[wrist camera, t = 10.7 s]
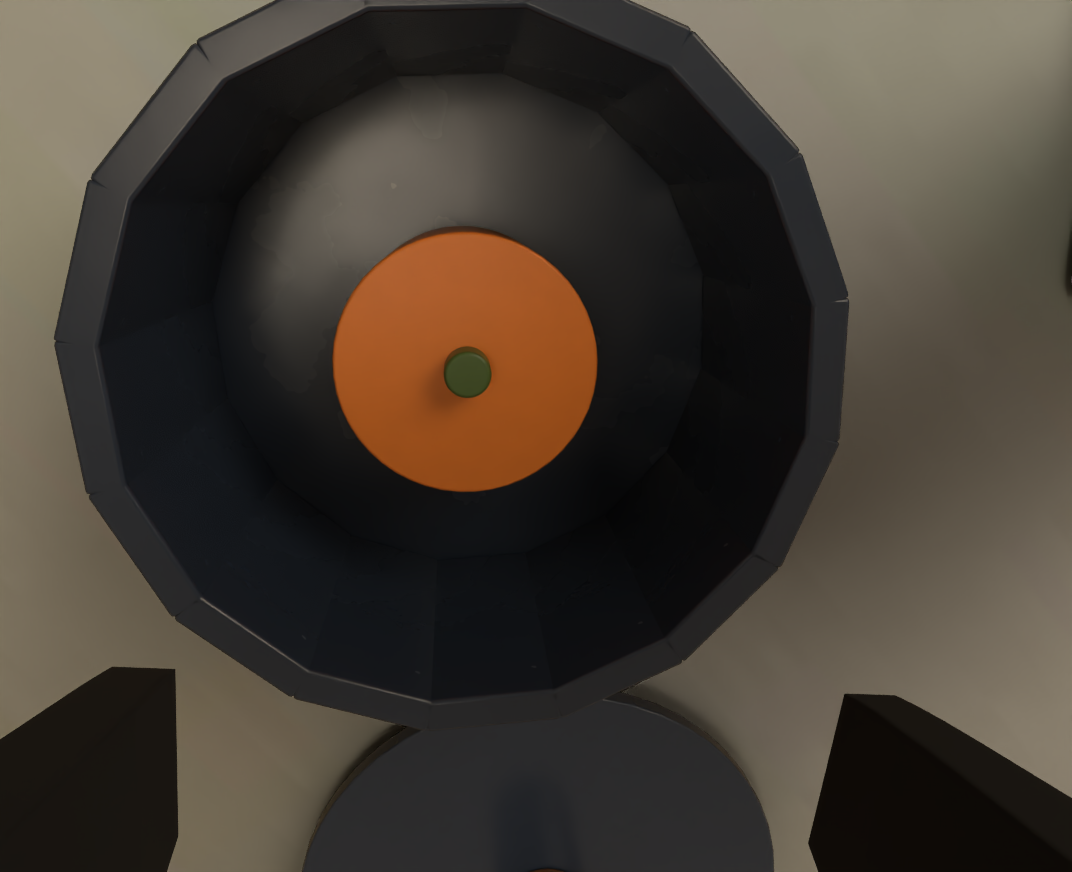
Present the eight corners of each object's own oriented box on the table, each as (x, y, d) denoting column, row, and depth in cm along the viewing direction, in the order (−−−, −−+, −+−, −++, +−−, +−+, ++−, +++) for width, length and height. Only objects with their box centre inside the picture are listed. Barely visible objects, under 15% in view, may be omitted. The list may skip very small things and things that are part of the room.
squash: (566, 220, 17) (602, 226, 13) (572, 430, 18) (606, 495, 14) (345, 230, 16) (310, 239, 12) (367, 444, 18) (342, 515, 14)
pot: (729, 38, 16) (876, -50, 11) (715, 551, 20) (822, 694, 14) (148, 53, 15) (-30, -35, 10) (237, 590, 19) (141, 761, 13)
